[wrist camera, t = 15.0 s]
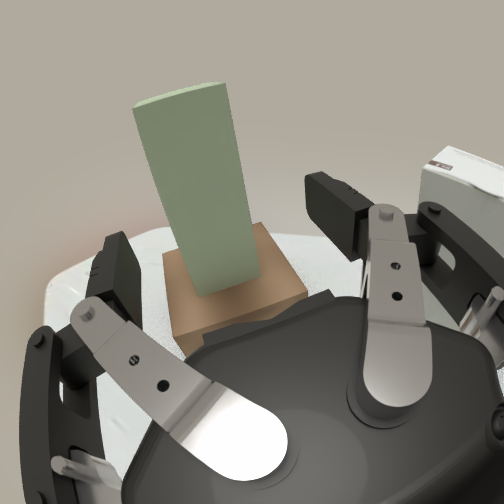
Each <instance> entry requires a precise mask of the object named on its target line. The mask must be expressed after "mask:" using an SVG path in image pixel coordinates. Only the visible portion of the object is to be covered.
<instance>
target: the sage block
mask: <svg viewBox="0 0 504 504" xmlns="http://www.w3.org/2000/svg"><path fill="white" fill-rule="evenodd" d="M132 110H133V113H134V117H135V121H136V124H137V128H138V131H139V134H140V138H141V141H142V144H143V147H144V151H145V154H146V157H147V160H148V163H149V166H150V170H151V173H152V176H153V178H154V181H155V184H156V187H157V190H158V193H159V196H160V199H161V202H162V205H163V207H164V210H165V213H166V216H167V218H168V221H169V224H170V227H171V229H172V232H173V235H174V237H175V240H176V242H177V245H178V248H179V250H180V253H181V255H182V258H183V260H184V263H185V265H186V268H187V270H188V273H189V275H190V277H191V280H192V282H193V285H194V287H195V289H196V292H197V294H198V296H199V297H202V296H205V295H208V294H211V293H214V292H217V291H220V290H223V289H226V288H229V287H232V286H235V285H238V284H241V283H244V282H247V281H250V280H253V279H256V278H259V277H261V271H260V266H259V260H258V255H257V249H256V244H255V239H254V233H253V228H252V222H251V217H250V211H249V206H248V201H247V196H246V190H245V185H244V179H243V174H242V168H241V163H240V158H239V152H238V147H237V142H236V137H235V131H234V126H233V120H232V115H231V110H230V105H229V99H228V94H227V89H226V84H225V83H216V82H214V83H213V82H208V83H204V84H199V85H195V86H191V87H188V88H184V89H180V90H176V91H173V92H169V93H166V94H162V95H159V96H156V97H153V98H150V99H146V100H144V101H141V102H138V103H137V104H136V105H135V107H133V109H132Z"/></svg>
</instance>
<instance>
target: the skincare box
mask: <svg viewBox="0 0 504 504" xmlns="http://www.w3.org/2000/svg"><path fill="white" fill-rule="evenodd" d="M425 201H430V202H435V203H438V204H440V205H442V206H444V207H445V208H446V209H448V210H449V211H450V212H452V213H453V214H454V215H455V216H457V217H458V218H459V219H460V220H462V221H463V222H464V223H465V224H466V225H468V226H469V227H470V228H471V229H472V230H474V231H475V232H476V233H477V234H478V235H479V236H480V237H482V238H483V239H484V240H485V241H486V242H487V243H488V244H489V245H490V246H492V247H493V248H494V249H495V250H496V251H497V252H498V253H499V254H500V255H501V256H502V257H503V258H504V167H503V166H500V165H497V164H495V163H493V162H491V161H488V160H486V159H483V158H480V157H478V156H476V155H473V154H470V153H467V152H465V151H462V150H459V149H457V148H454V147H451V146H447V147H446V148H445V149H444V150H442V152H440V153H439V154H438V155H437V156H436V157H434V158H433V159H432V160H431V161H430V162H429V163H428V164H426V165H425V166H424V167H423V168H422V174H421V185H420V194H419V202H418V207H419V204H420V203H422V202H425ZM417 212H418V209H417ZM438 255H439V256H440V257H441V258H442V259H443V260H444V261H445V262H446V263H447V264H448V265H449V266H450V267H451V268H452V270H454V267H455V259H454V256H453V255H452V253H451V252H450V251H448V250H447V249H446V248H445V247H444V246H443V245H441V248H440V251H439V254H438ZM422 289H423V297H424V307H425V319H426V320H428V321H431V322H433V323H436V324H439V325H442V326H445V327H448V328H451V329H453V330H456V331H459V332H460V328H459V326H458V325H457V324H456V322H455V321H454V320H453V318H452V317H451V316H450V315H449V313H448V312H447V311H446V310H445V308H444V307H443V306H442V305H441V304H440V302H439V301H438V300H437V299H436V297H435V296H434V295H433V294H432V293H431V292H430V290H429V289H428V288H427V287H426V286H425V285H424V283H423V282H422Z"/></svg>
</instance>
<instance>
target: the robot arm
mask: <svg viewBox="0 0 504 504" xmlns="http://www.w3.org/2000/svg"><path fill="white" fill-rule="evenodd" d="M305 194H306V195H305V196H306V209H307V213H308V215H309V217H310V219H311V220H312V221H313V222H314V223H315V224H316V225H317V226H318V227H319V228H320V229H321V230H322V231H323V233H324V234H325V235H326V236H327V237H328V238H329V239H330V240H331V241H332V242H333V243H334V244H335V245H336V246H337V248H338V249H339V250H340V251H341V252H342V253H343V254H344V255H345V256H346V257H347V259H348V260H349V261H350V262H352V261H355V260H357V259H360V258H361V259H362V260H363V263H362V273H361V286H360V297H353V296H342V297H334V295H333V294H332V293H331V291H330V290H329V289H327V290H325V291H322V292H320V293H317V294H315V295H312V296H310V297H307V298H304V299H302V300H299V301H298V302H296V303H295V304H293V305H292V306H290V307H289V308H287V309H286V310H284V311H283V312H281V313H280V314H278V315H277V316H275V317H273V318H271V319H267V320H260V321H253V322H245V323H237V324H232V325H229V326H226V327H223V328H220V329H217V330H214V331H211V332H208V333H205V334H202V337H203V341H204V345H202V346H201V347H199V348H198V349H196V350H195V351H194V352H192V353H191V354H190V355H189V356H188V357H187V358H186V359H185V360H184V361H181V360H180V359H179V358H177V357H176V356H175V355H173V354H172V353H170V352H169V351H168V350H166V349H165V348H164V347H162V346H161V345H160V344H158V343H157V342H156V341H155V340H153V339H152V338H151V337H149V336H148V335H147V334H146V333H144V332H143V326H142V301H141V269H140V265H139V262H138V260H137V258H136V256H135V254H134V252H133V250H132V248H131V246H130V244H129V242H128V240H127V237H126V236H125V234H124V232H123V231H120V232H117V233H115V234H112V235H109V236H107V237H106V238H105V242H104V247H103V250H102V251H99V252H98V254H97V255H96V257H95V258H94V260H93V262H92V267H91V271H90V276H89V277H90V278H89V280H88V285H87V290H86V296H85V299H84V300H82V301H81V302H80V303H78V304H77V305H76V307H75V308H74V309H73V311H72V313H71V316H70V324H69V325H67V326H66V327H64V328H63V329H61V330H60V331H58V332H57V333H56V332H55V331H54V330H53V329H52V328H51V327H50V326H42V327H40V328H38V329H37V330H36V331H35V332H34V333H33V334H32V335H31V337H30V339H29V341H28V344H27V349H26V356H25V362H24V369H23V377H22V386H21V398H20V416H19V418H20V419H19V445H20V464H21V474H22V483H23V490H24V497H25V501H26V504H504V396H503V393H502V390H501V387H500V384H499V380H498V375H497V370H499V369H501V368H503V367H504V258H503V257H502V256H501V255H500V254H499V253H498V252H497V251H496V250H495V249H494V248H493V247H492V246H490V245H489V244H488V243H487V242H486V241H485V240H484V239H483V238H482V237H480V236H479V235H478V234H477V233H476V232H475V231H474V230H472V229H471V228H470V227H469V226H468V225H466V224H465V223H464V222H463V221H462V220H460V219H459V218H458V217H457V216H455V215H454V214H453V213H452V212H450V211H449V210H448V209H446V208H445V207H444V206H442V205H440V204H438V203H435V202H430V201H425V202H422V203H420V204H419V207H418V212H417V214H403V212H402V211H401V210H400V209H399V208H397V207H395V206H392V205H389V204H376V205H375V204H374V203H373V202H371V201H370V200H369V199H367V198H366V197H365V196H363V195H362V194H360V193H358V191H356V190H355V189H352V187H351V186H349V185H347V184H346V183H345V182H342V181H339V180H336V179H333V178H331V177H330V176H328V175H327V174H325V173H324V172H322V171H321V172H317V173H312V174H308V175H306V176H305ZM441 245H443V246H444V247H445V248H446V249H447V250H448V251H450V252H451V253H452V255H453V256H454V259H455V267H454V270H452V268H451V267H450V266H449V265H448V264H447V263H446V262H445V261H444V260H443V259H442V258H441V257H440V256H439V255H438V254H439V251H440V248H441ZM422 282H423V283H424V285H425V286H426V287H427V288H428V289H429V290H430V292H431V293H432V294H433V295H434V296H435V297H436V299H437V300H438V301H439V302H440V304H441V305H442V306H443V307H444V308H445V310H446V311H447V312H448V313H449V315H450V316H451V317H452V318H453V320H454V321H455V322H456V324H457V325H458V326H459V328H460V332H459V331H456V330H453V329H451V328H448V327H445V326H442V325H439V324H436V323H433V322H431V321H428V320H426V319H425V307H424V297H423V289H422ZM104 372H107V373H108V374H109V375H110V376H111V377H112V378H113V380H114V381H115V382H116V383H117V384H118V385H119V386H120V387H121V388H122V389H123V390H124V391H125V392H126V393H127V394H128V396H129V397H130V398H131V399H132V400H133V401H134V402H135V403H136V404H137V405H138V406H140V407H141V408H142V409H143V410H144V411H145V412H146V413H147V414H148V415H149V416H150V417H151V418H152V421H151V423H150V425H149V427H148V429H147V431H146V433H145V435H144V437H143V439H142V441H141V443H140V445H139V447H138V449H137V452H136V454H135V456H134V458H133V460H132V462H131V464H130V466H129V468H128V470H127V472H126V474H125V476H124V479H123V481H122V480H121V478H120V477H119V476H118V474H117V472H116V470H115V468H114V467H113V466H112V465H111V464H110V463H109V462H108V461H106V459H105V454H104V448H103V442H102V435H101V427H100V419H99V409H98V398H97V383H96V377H98V376H99V375H101V374H103V373H104ZM60 382H62V383H63V402H62V401H61V398H60V394H59V384H60Z"/></svg>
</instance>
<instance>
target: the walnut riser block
mask: <svg viewBox="0 0 504 504" xmlns="http://www.w3.org/2000/svg"><path fill="white" fill-rule="evenodd" d="M252 228H253V233H254V239H255V244H256V249H257V255H258V260H259V266H260V271H261V277H259V278H256V279H253V280H250V281H247V282H244V283H241V284H238V285H235V286H232V287H229V288H226V289H223V290H220V291H217V292H214V293H211V294H208V295H205V296H202V297H199V296H198V294H197V292H196V289H195V287H194V285H193V282H192V280H191V277H190V275H189V273H188V270H187V268H186V265H185V263H184V260H183V258H182V255H181V253H180V250H179V248H178V249H175V250H172V251H169V252H166V253H163V254H162V256H163V266H164V276H165V285H166V293H167V301H168V308H169V315H170V322H171V328H172V335H173V338H174V340H175V341H176V343H177V344H178V346H179V347H180V349H181V350H182V352H183V353H184V355H185V356H186V357H188V356H189V355H190V354H191V353H192V352H194V351H195V350H196V349H198V348H199V347H201V346H202V345H204V341H203V337H202V334H205V333H208V332H211V331H214V330H217V329H220V328H223V327H226V326H229V325H232V324H237V323H245V322H253V321H260V320H267V319H271V318H273V317H275V316H277V315H278V314H280V313H281V312H283V311H284V310H286V309H287V308H289V307H290V306H292V305H293V304H295V303H296V302H298V301H299V300H302V299H304V298H307V297H308V290H307V288H306V287H305V285H304V284H303V282H302V281H301V279H300V278H299V277H298V275H297V274H296V272H295V271H294V269H293V268H292V266H291V265H290V263H289V262H288V260H287V259H286V257H285V256H284V254H283V253H282V252H281V250H280V249H279V247H278V246H277V244H276V243H275V241H274V240H273V238H272V237H271V236H270V234H269V233H268V231H267V230H266V228H265V227H264V226H263V224H262V223H261V222H259V223H256V224H252Z"/></svg>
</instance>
